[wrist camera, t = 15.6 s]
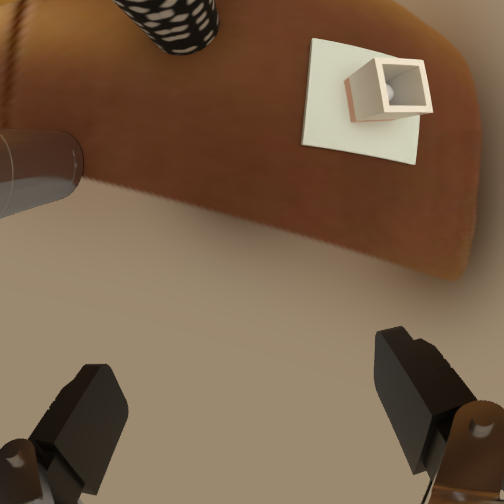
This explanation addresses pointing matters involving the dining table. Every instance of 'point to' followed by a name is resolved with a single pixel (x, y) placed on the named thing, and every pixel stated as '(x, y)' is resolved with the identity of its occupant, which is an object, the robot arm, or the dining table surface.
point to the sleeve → (375, 92)
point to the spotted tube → (175, 22)
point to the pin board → (337, 112)
